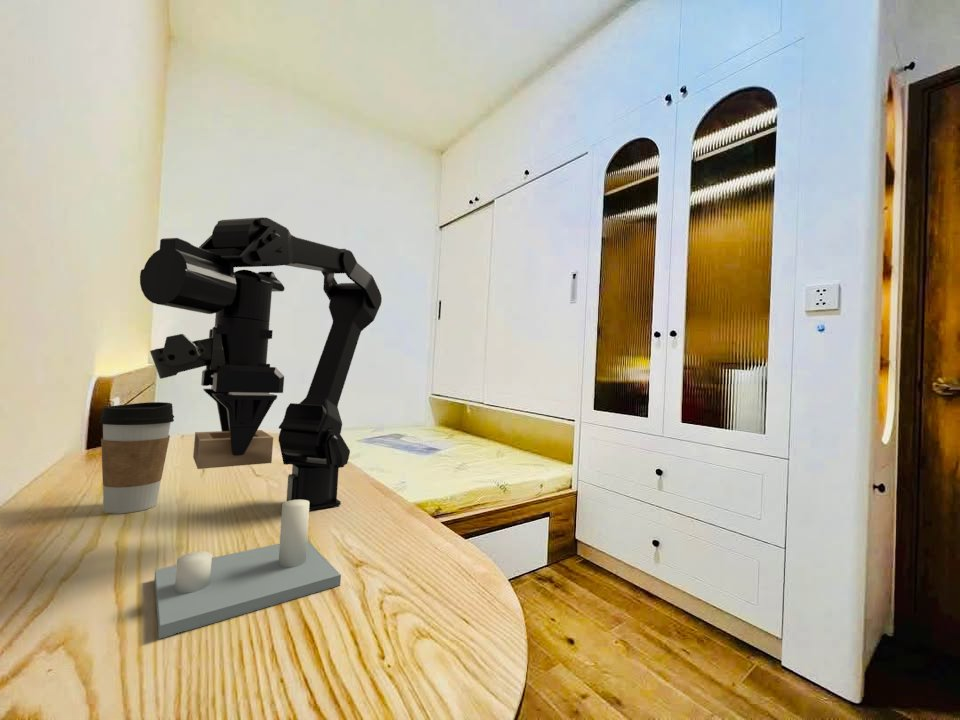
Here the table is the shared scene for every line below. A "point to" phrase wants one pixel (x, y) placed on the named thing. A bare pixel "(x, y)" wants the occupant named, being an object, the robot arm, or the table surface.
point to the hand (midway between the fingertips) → (233, 449)
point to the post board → (242, 578)
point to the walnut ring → (230, 450)
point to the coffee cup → (134, 454)
